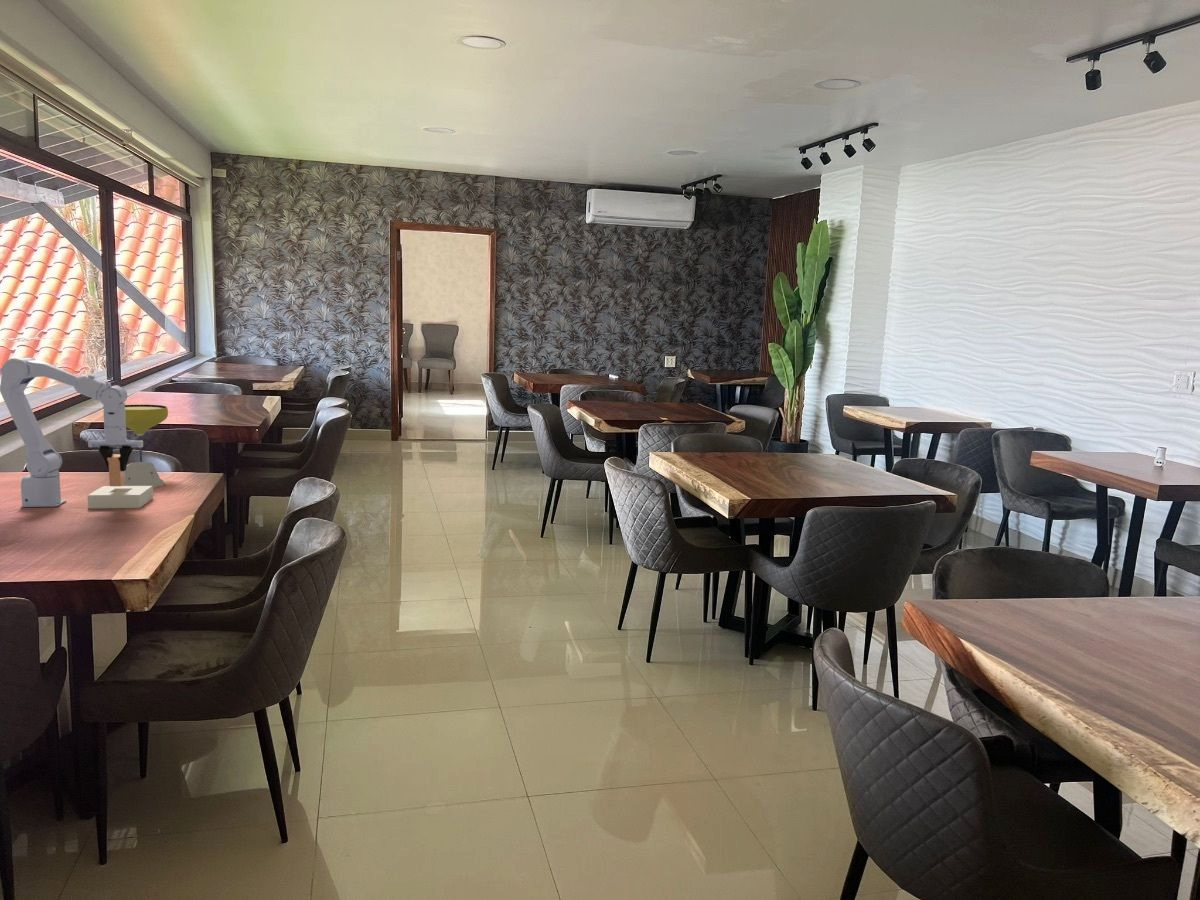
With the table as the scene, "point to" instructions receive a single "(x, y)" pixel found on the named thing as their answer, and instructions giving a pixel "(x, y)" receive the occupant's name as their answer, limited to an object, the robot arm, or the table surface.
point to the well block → (120, 497)
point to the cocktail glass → (144, 418)
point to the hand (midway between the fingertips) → (117, 470)
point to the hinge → (142, 475)
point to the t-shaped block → (115, 470)
